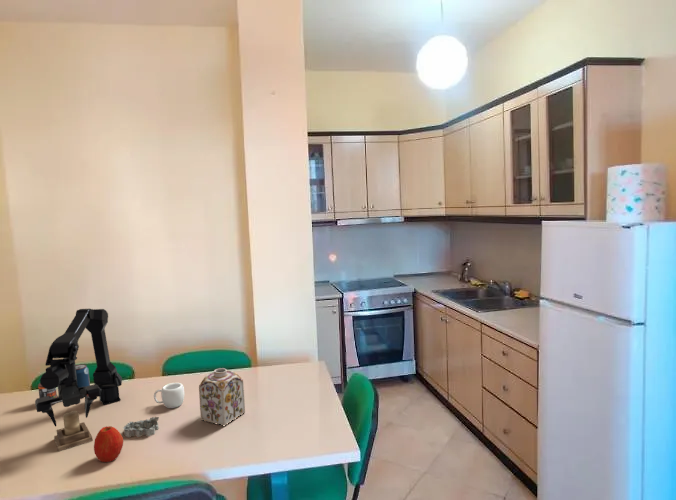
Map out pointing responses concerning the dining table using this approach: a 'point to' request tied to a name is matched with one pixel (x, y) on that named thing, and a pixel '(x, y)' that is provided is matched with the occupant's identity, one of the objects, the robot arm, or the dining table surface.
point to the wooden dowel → (71, 423)
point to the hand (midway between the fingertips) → (71, 421)
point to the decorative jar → (221, 396)
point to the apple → (108, 444)
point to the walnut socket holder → (72, 438)
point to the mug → (171, 395)
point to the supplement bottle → (46, 392)
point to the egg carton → (136, 427)
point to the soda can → (82, 375)
